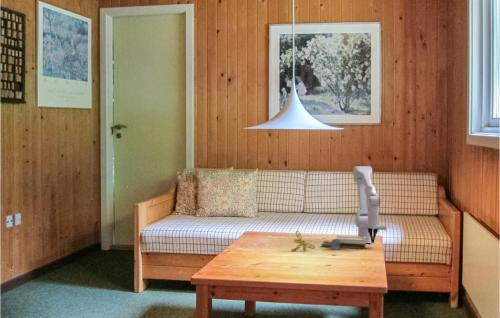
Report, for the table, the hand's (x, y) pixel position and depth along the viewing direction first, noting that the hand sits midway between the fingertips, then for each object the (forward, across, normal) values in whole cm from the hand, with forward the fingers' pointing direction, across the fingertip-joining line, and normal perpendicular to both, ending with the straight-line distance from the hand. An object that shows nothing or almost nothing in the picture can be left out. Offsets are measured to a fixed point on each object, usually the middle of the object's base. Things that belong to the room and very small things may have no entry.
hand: (372, 242), depth 297 cm
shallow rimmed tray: (+1, -12, 0) cm, 12 cm away
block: (+3, -19, -10) cm, 22 cm away
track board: (+3, -16, 0) cm, 16 cm away
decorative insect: (+3, -35, -20) cm, 41 cm away
